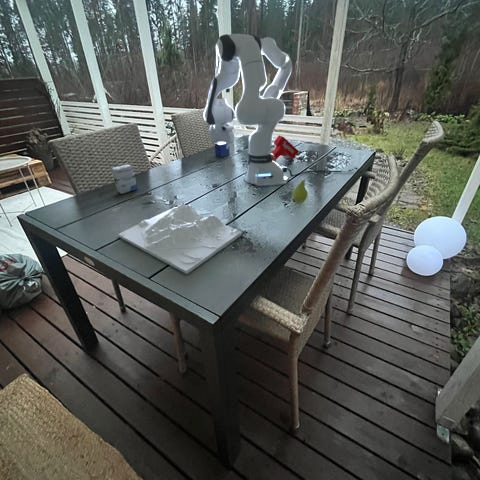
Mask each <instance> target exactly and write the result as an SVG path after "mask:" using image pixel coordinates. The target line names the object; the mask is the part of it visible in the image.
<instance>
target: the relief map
mask: <svg viewBox="0 0 480 480" xmlns="http://www.w3.org/2000/svg"><path fill="white" fill-rule="evenodd" d="M242 235H243V231H242V230H239V229H238V228H234V227H231V226H229V225H226V224H224V223H223V222H222V221H221V220H220V219H219V218H218V216H216V215H214V214H212V215H210V216H207V217H205V216H204V215H203V214H199V213H198V212H197V211H196V209H195V208H194V207H193V206H192V205H191V204H187V205H186V204H185V202H182V204H180V205H179V206H174V207H171V208H170V209H168V210H165V211H163V212H161V213H159V214H157V215H154V216H153V217H150V218H149V219H143V220H141V221H140V222H139V223H138V224H137V225H134V226H132V227H129V228H128V229H126V230H123V231H122V232H120V233H117V236H118V238H120V239H121V240H123V241H125V242H127V243H129V244H131V245H132V246H134V247H136V248H138V249H140V250H141V251H143V252H145V253H147V254H149V255H151V256H153V257H154V258H156V259H158V260H160V261H162V262H163V263H165V264H166V265H169V266H171V267H173V268H175V269H176V270H178V271H180V272H182V273H183V274H185V275H188V274H190V273H191V272H192V271H193V270H195V269H196V268H198V267H199V266H201V265H202V264H203V263H205V262H206V261H208V260H209V259H211V258H212V257H214V256H215V255H216V254H217V253H219V252H220V251H222V250H223V249H224V248H226V247H227V246H229V245H230V244H231V243H233V242H235V241H236V240H237V239H238V238H240V237H241V236H242Z"/></svg>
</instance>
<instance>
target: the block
mask: <svg viewBox="0 0 480 480" xmlns="http://www.w3.org/2000/svg"><path fill="white" fill-rule="evenodd" d="M226 145H227V144H226V142H222V141H218V142H217V143H216V144H215V143H214V154H215V155H214V156H215V157H218V158H224V157H227V156H230V145H229V146H228V149H225V146H226Z"/></svg>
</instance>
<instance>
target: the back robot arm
mask: <svg viewBox="0 0 480 480" xmlns="http://www.w3.org/2000/svg"><path fill="white" fill-rule="evenodd" d="M260 40H261V43H262V52H261V54H262V55H264V56H265V57H266V58H267V60H268V61H269V62H270V63H271V64H272V65H273V66H274V68H276V69H278V71H277V73H276V75H275V77H274V78H273V81H272V82H271V84H269V85H268V86H266V88H265V90H264V92H263V94H262V96H261V98H277V99H280V97H281V95H282V94H283V91H284V89H285V87H286V85H287V83H288V81H289V79H290V77H291V74H292V70H293V63H292V59H291V56H290V55H289V54H288V53H286V52H285V51H282V50H281V49H280V48H279V47H278V45H277V42H276V40H275V39H274V38H272V37H269V36H265V37H264V38H260ZM215 57H216V59H215V60H216V62H215V64H216V66H215V72H214V73H215V75H214V76H215V77H216V75H217V74H218V71H219V66H220V58H219V56H218V53H217V42H216V43H215ZM215 77H214V78H215ZM230 88H231V87H230ZM230 88H228V89H225V93H230V91H231V89H230ZM275 140H276V138H273V137H272V138H271V148H272V147H275V144H274V141H275Z"/></svg>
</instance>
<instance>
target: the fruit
mask: <svg viewBox="0 0 480 480" xmlns="http://www.w3.org/2000/svg"><path fill="white" fill-rule="evenodd" d="M310 177H311V175H310V174H309V175H308V176H307V177H305V179H302V180H301V181H300V182H298V184H297V185H296V186H295V187H294V188H293V190H292V191H291V198H292V200H293V201H294V202H295V203H297V204H301V203H304V202H305V201H306V200H307V198H308V196H309V195H308V190H307V189H306V184H305V183H306V180H308V179H309V178H310Z"/></svg>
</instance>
